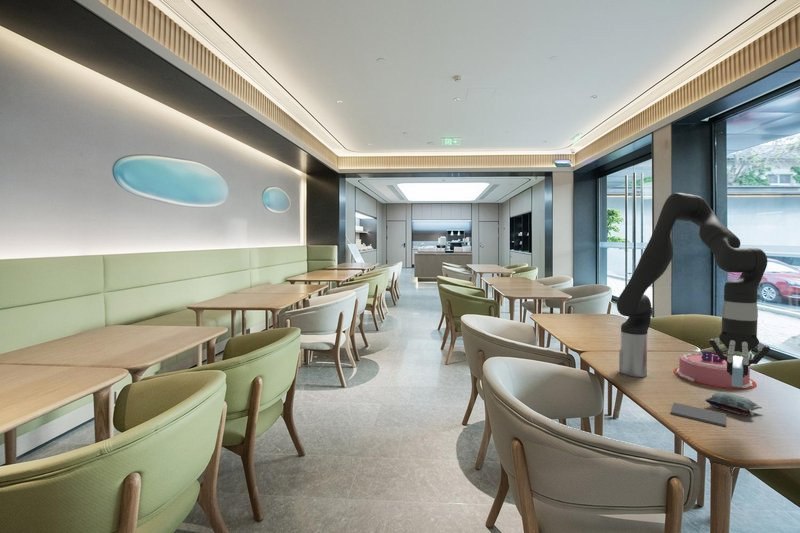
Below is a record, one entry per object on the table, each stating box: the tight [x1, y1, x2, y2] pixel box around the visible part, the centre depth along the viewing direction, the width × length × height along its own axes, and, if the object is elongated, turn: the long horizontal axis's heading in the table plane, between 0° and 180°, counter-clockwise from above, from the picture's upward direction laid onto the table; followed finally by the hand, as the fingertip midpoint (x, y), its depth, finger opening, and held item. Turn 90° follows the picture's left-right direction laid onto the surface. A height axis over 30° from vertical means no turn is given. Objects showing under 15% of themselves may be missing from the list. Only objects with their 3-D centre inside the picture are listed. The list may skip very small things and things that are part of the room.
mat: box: [670, 402, 727, 427], centre depth 113 cm, size 13×9×1 cm
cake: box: [673, 350, 757, 391], centre depth 144 cm, size 25×25×11 cm
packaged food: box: [704, 391, 763, 416], centre depth 116 cm, size 9×12×5 cm
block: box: [732, 355, 743, 388], centre depth 106 cm, size 2×7×6 cm, turn 138°
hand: (737, 375), depth 106 cm, fingers closed on block, 2 cm apart
